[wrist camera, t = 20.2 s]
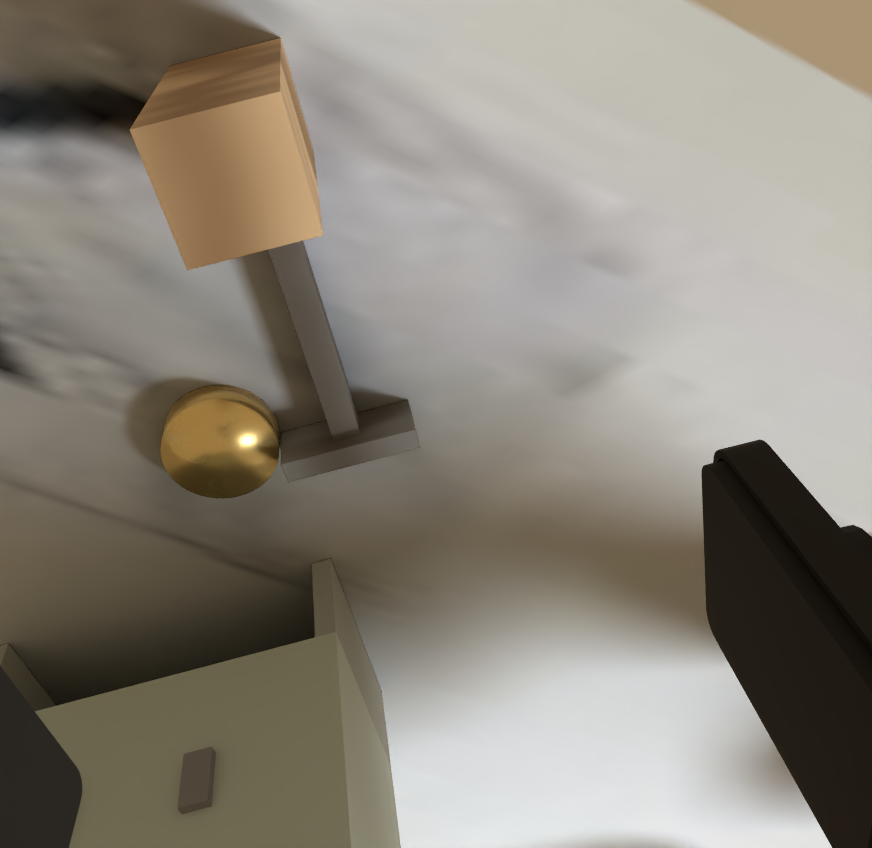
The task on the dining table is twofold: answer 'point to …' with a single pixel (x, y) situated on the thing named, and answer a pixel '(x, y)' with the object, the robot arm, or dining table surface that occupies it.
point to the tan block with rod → (260, 223)
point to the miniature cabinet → (236, 747)
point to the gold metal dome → (220, 441)
